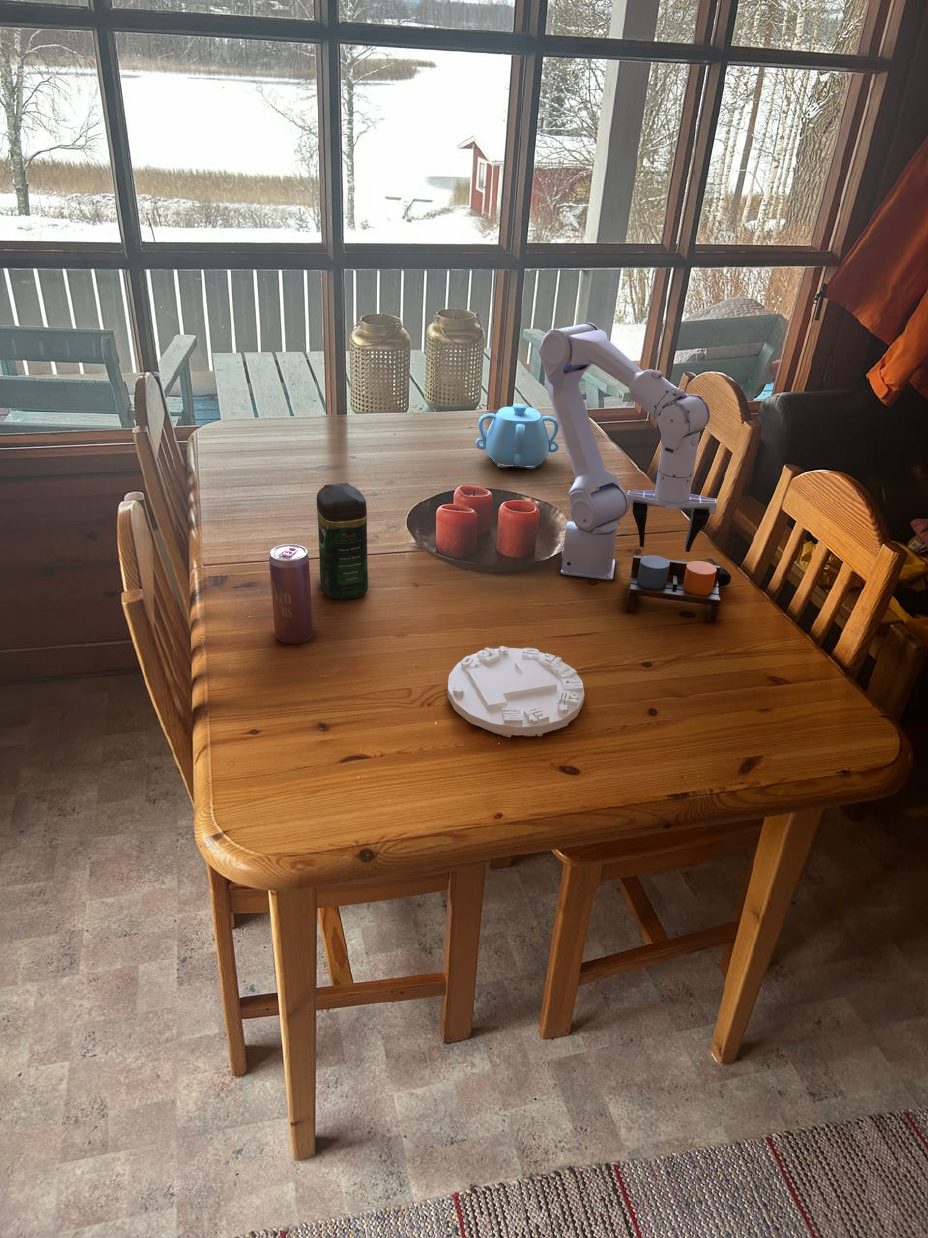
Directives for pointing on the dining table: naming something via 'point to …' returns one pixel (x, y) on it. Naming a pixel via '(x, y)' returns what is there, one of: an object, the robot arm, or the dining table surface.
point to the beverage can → (291, 593)
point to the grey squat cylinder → (653, 572)
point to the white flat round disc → (515, 691)
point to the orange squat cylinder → (699, 577)
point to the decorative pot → (517, 436)
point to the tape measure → (723, 574)
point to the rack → (673, 588)
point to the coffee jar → (342, 541)
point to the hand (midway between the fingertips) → (664, 546)
